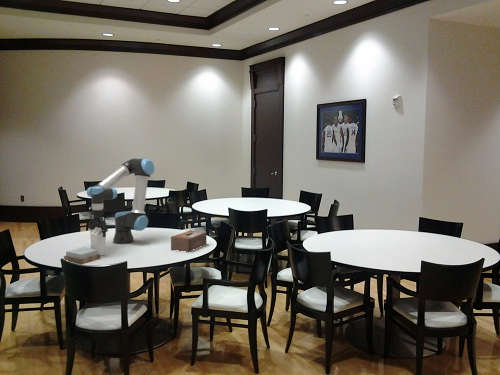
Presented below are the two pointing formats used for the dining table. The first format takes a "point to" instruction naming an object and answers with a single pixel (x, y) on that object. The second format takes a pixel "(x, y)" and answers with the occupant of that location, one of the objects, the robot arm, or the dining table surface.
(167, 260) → the dining table surface
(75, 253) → the top slab
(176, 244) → the tissue box cover
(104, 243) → the milk carton
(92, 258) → the bottom slab
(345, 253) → the dining table surface
